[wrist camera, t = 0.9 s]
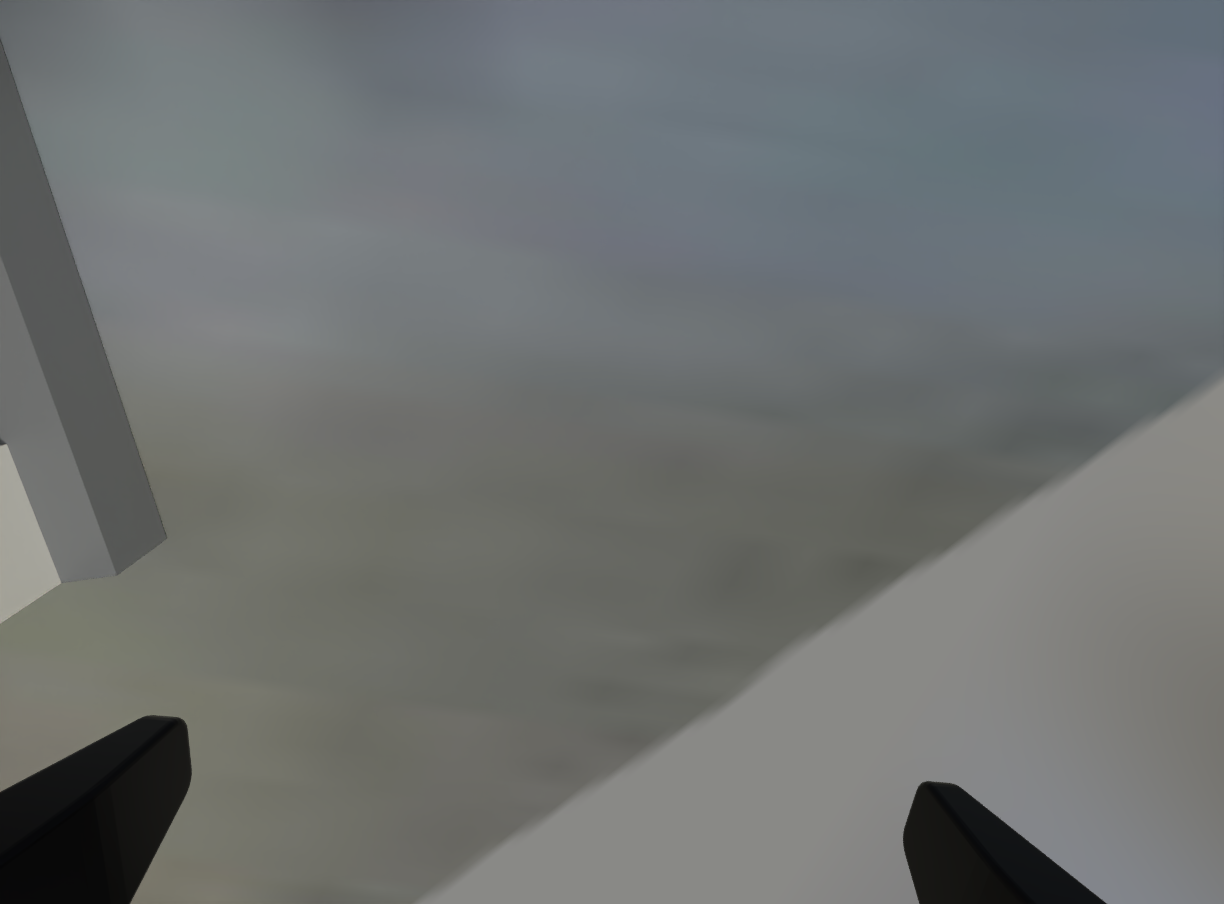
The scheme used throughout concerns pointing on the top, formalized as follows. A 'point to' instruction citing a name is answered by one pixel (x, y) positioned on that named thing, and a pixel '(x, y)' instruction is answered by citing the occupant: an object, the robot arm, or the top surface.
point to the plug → (20, 545)
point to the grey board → (61, 380)
